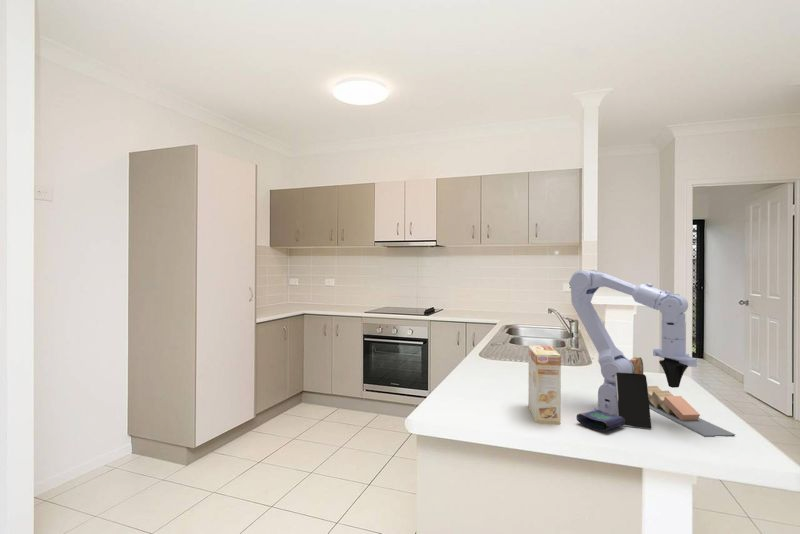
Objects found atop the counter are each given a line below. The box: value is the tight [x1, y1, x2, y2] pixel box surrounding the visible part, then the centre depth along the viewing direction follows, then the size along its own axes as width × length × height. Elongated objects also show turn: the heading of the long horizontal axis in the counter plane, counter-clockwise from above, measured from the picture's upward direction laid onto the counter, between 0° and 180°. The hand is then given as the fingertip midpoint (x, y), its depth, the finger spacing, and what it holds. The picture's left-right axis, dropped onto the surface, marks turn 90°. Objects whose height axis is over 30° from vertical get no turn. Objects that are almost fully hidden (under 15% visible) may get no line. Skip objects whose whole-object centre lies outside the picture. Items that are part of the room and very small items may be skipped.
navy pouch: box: [576, 409, 625, 432], centre depth 119 cm, size 9×3×11 cm
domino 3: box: [663, 395, 701, 421], centre depth 126 cm, size 2×5×8 cm
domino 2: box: [652, 390, 674, 414], centre depth 131 cm, size 2×5×8 cm
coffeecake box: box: [527, 344, 562, 425], centre depth 128 cm, size 15×7×20 cm, turn 171°
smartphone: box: [615, 372, 652, 430], centre depth 122 cm, size 8×1×15 cm
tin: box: [629, 356, 644, 374], centre depth 167 cm, size 15×3×8 cm, turn 139°
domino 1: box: [648, 385, 663, 408], centre depth 136 cm, size 2×5×8 cm
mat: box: [649, 403, 737, 438], centre depth 129 cm, size 34×8×1 cm, turn 4°
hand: (673, 386), depth 121 cm, fingers closed
